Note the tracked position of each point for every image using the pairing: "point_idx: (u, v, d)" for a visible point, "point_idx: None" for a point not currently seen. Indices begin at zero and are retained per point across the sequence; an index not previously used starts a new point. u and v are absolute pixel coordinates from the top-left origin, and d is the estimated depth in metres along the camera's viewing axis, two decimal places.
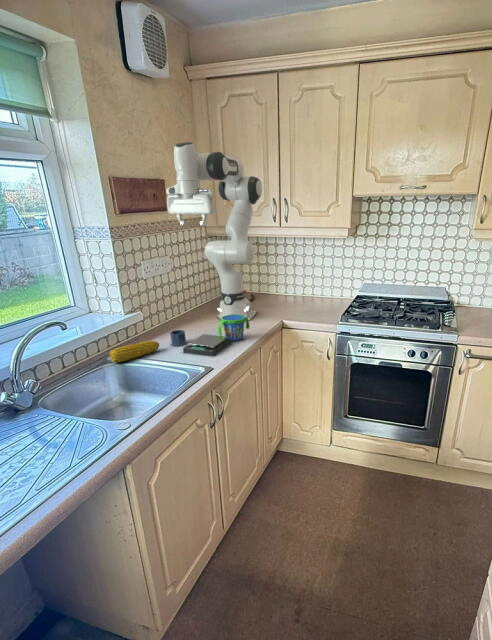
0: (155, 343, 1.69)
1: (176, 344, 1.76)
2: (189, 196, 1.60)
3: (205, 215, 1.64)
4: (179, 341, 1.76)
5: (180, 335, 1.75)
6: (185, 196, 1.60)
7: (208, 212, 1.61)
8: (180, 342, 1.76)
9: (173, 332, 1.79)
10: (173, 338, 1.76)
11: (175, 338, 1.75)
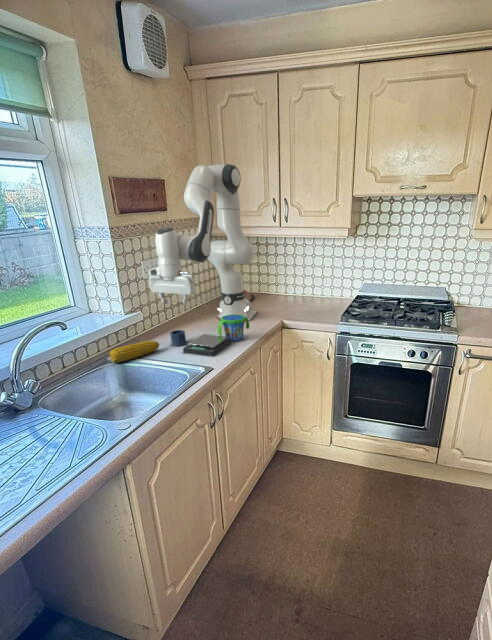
0: (155, 343, 1.69)
1: (176, 344, 1.76)
2: (170, 278, 1.65)
3: (186, 295, 1.68)
4: (179, 341, 1.76)
5: (180, 335, 1.75)
6: (166, 278, 1.65)
7: (189, 293, 1.66)
8: (180, 342, 1.76)
9: (173, 332, 1.79)
10: (173, 338, 1.76)
11: (175, 338, 1.75)
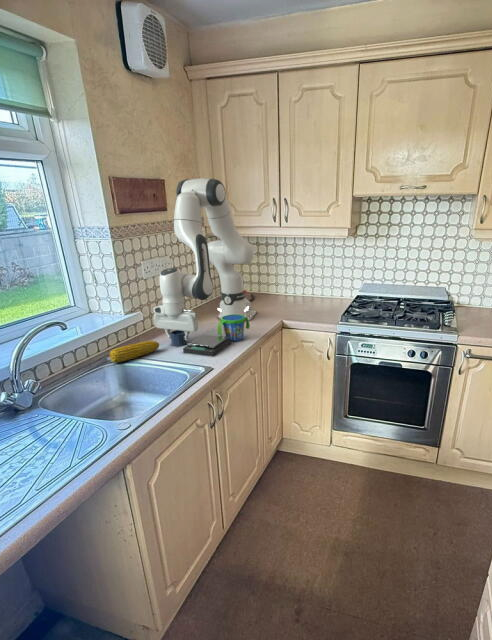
0: (155, 343, 1.69)
1: (176, 344, 1.76)
2: (174, 316, 1.71)
3: (188, 331, 1.75)
4: (179, 341, 1.76)
5: (180, 335, 1.75)
6: (170, 316, 1.71)
7: (192, 330, 1.72)
8: (180, 342, 1.76)
9: (173, 332, 1.79)
10: (173, 338, 1.76)
11: (175, 338, 1.75)
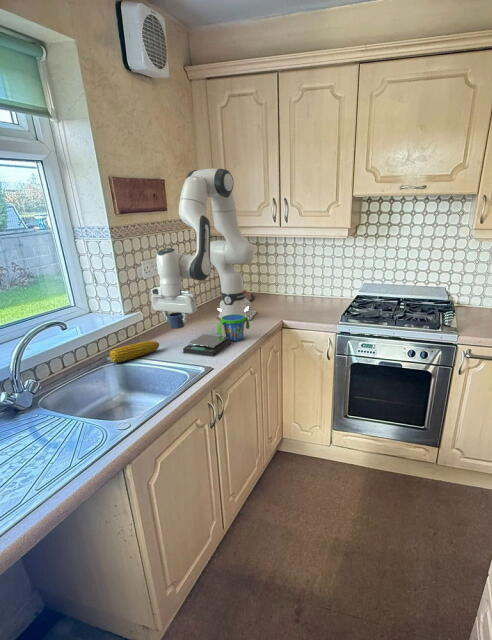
0: (155, 343, 1.69)
1: (174, 326, 1.73)
2: (172, 297, 1.68)
3: (186, 313, 1.72)
4: (177, 324, 1.73)
5: (178, 317, 1.72)
6: (168, 297, 1.68)
7: (190, 312, 1.69)
8: (178, 324, 1.73)
9: (171, 314, 1.76)
10: (171, 320, 1.73)
11: (173, 320, 1.72)
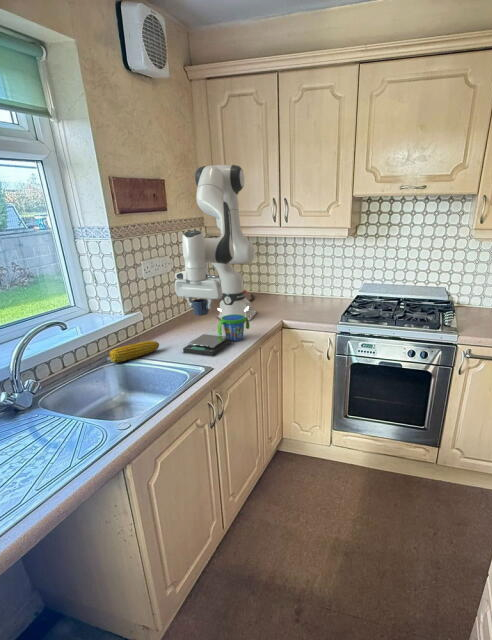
0: (155, 343, 1.69)
1: (198, 313, 1.66)
2: (197, 282, 1.61)
3: (211, 299, 1.64)
4: (201, 310, 1.66)
5: (203, 303, 1.65)
6: (193, 282, 1.61)
7: (216, 297, 1.62)
8: (203, 311, 1.66)
9: (195, 301, 1.68)
10: (195, 307, 1.65)
11: (198, 307, 1.65)
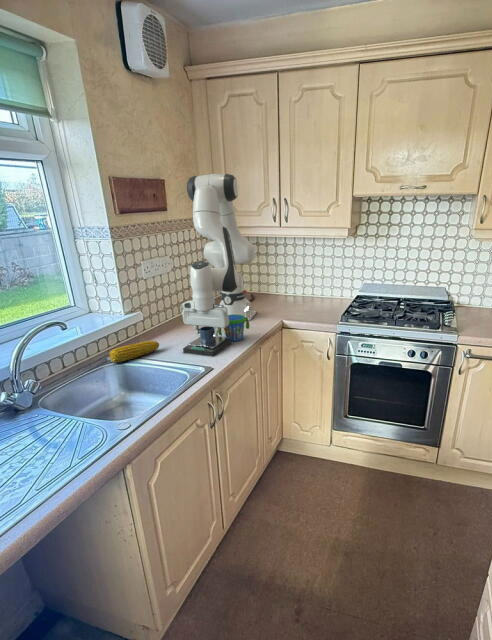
0: (155, 343, 1.69)
1: (205, 341, 1.70)
2: (204, 311, 1.65)
3: (218, 327, 1.69)
4: (208, 338, 1.70)
5: (210, 331, 1.69)
6: (200, 311, 1.65)
7: (223, 326, 1.66)
8: (210, 339, 1.70)
9: (202, 328, 1.73)
10: (202, 335, 1.69)
11: (205, 335, 1.69)
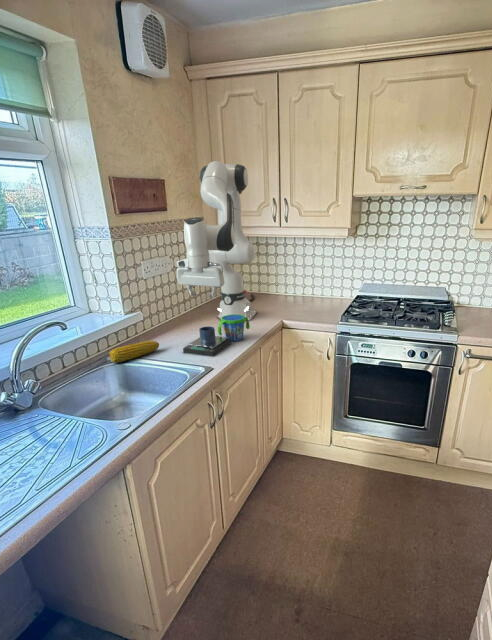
0: (155, 343, 1.69)
1: (205, 341, 1.70)
2: (199, 270, 1.61)
3: (215, 287, 1.64)
4: (208, 338, 1.70)
5: (210, 332, 1.69)
6: (195, 270, 1.61)
7: (218, 285, 1.62)
8: (210, 339, 1.70)
9: (202, 329, 1.73)
10: (203, 335, 1.69)
11: (205, 335, 1.69)
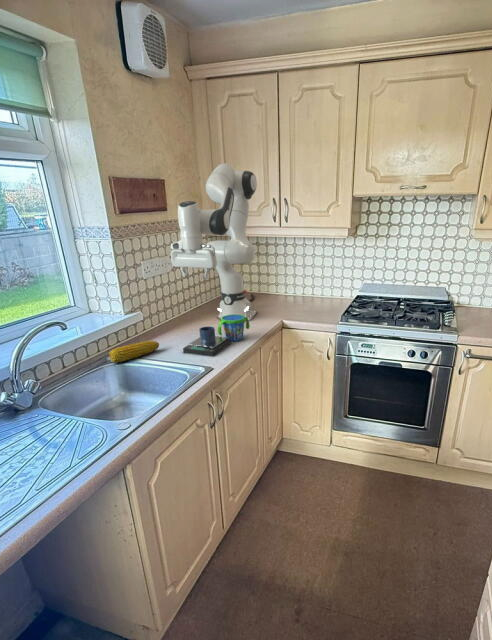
0: (155, 343, 1.69)
1: (205, 341, 1.70)
2: (192, 251, 1.67)
3: (207, 268, 1.71)
4: (208, 338, 1.70)
5: (210, 332, 1.69)
6: (188, 251, 1.67)
7: (210, 266, 1.68)
8: (210, 339, 1.70)
9: (202, 329, 1.73)
10: (203, 335, 1.69)
11: (205, 335, 1.69)
